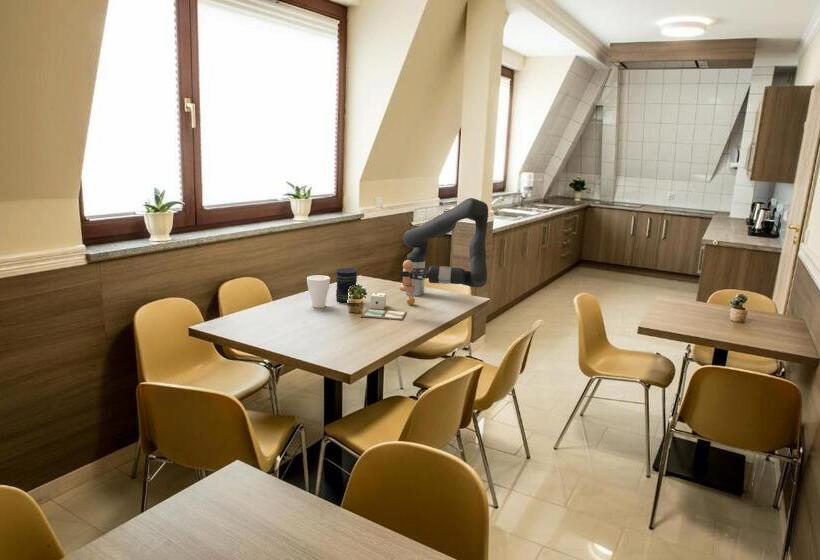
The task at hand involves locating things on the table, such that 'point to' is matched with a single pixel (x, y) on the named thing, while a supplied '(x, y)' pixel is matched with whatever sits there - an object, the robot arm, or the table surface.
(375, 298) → the die
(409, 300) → the figurine
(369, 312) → the game board
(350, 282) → the storage jar
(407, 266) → the pawn
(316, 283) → the cup
